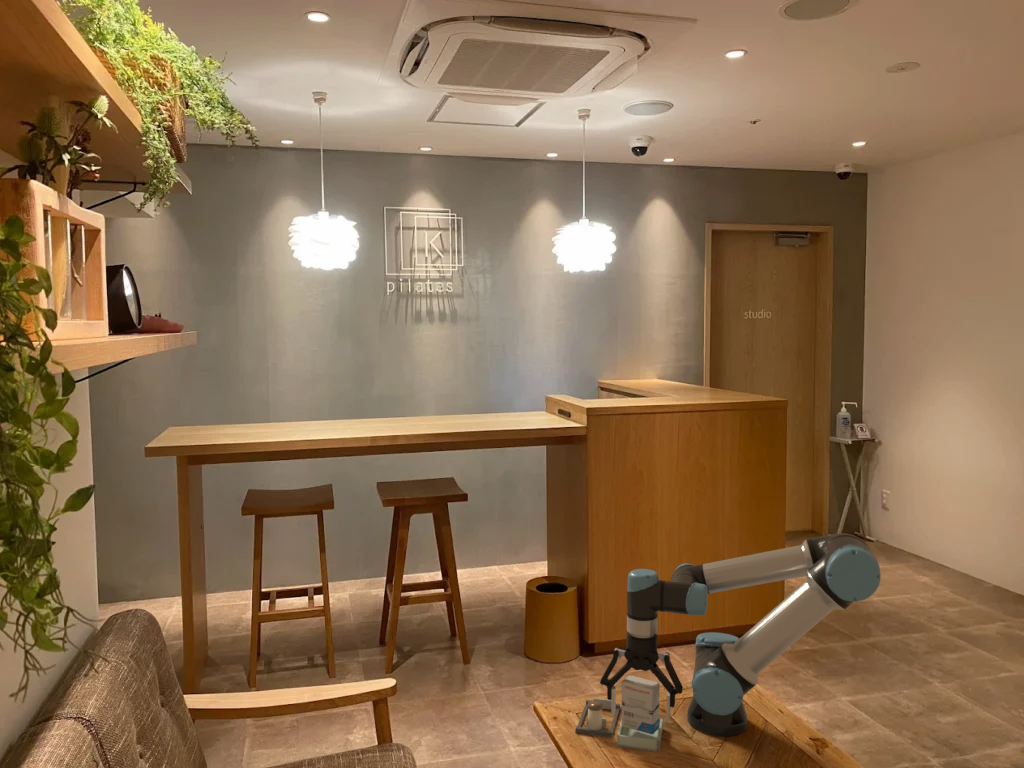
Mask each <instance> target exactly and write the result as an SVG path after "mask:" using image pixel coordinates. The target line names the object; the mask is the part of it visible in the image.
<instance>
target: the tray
mask: <svg viewBox="0 0 1024 768" xmlns="http://www.w3.org/2000/svg"><path fill="white" fill-rule="evenodd" d="M663 730H664V718H663V717H659V728H658V729H657V730H656V732H655V733H654V734H649V733H645V732H641V731H638V730H634V729H630V728H627V727H623V726H622V718H621V720H620V723H619V727H618V730H617V735H616V747H617V748H625V749H631V750H639V751H640V750H641V751H647V752H652V753H653V752H654V753H660V748H661V744H662V743H661V742H662V736H663Z"/></svg>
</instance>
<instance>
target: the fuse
mask: <svg viewBox="0 0 1024 768" xmlns="http://www.w3.org/2000/svg"><path fill="white" fill-rule="evenodd" d="M602 708H603V704H602V703H601V702H599V701H593V700H591V701H590V702H588V710H587V716H588V726H587V728H589V729H591V730H603V728H602V718H603V709H602Z"/></svg>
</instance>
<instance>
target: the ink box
mask: <svg viewBox="0 0 1024 768" xmlns="http://www.w3.org/2000/svg"><path fill="white" fill-rule="evenodd" d="M659 718H660V681H659V682H658V681H655V680H650V679H646V678H641V677H638V676H633V675H628V676H627V677H625V678H624V679H623V680H622V681H621V719H622V726H623V727H627V728H630V729H634V730H638V731H641V732H645V733H649V734H654V733H655V732H656V730H657V729H658V728H659Z"/></svg>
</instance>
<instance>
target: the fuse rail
mask: <svg viewBox="0 0 1024 768" xmlns="http://www.w3.org/2000/svg"><path fill="white" fill-rule="evenodd" d="M590 701H599V702H601V703H602V704H603V708H602V710H603V709H604V710H610V711H611V700H608V698H607V699H606V698H598V697H593V699H592V700H589V699H586V700H585V705H584V708H583V710H582V713H581V715H580V718H579V721H578V722H577V723H578V724H577V726H575V733H576V734H582V735H589V736H595V737H597V736H598V737H604V738H611V739H612V737H613V734H614V731H615V727H616V725H617V721H618V719H619V718H618V717H619V713H620V710H621V703H616V710H615V714H614V715H613V720H612V723H611V724H610V725H611V726H610V730H606V729H607V717H606V718H605V717H602V730H591V729H589V728H588V715H587V713H588V702H590ZM586 715H587V716H586ZM585 717H586V727H585V726H584V727H583V726H582V725H583V723H584V721H585Z"/></svg>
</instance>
